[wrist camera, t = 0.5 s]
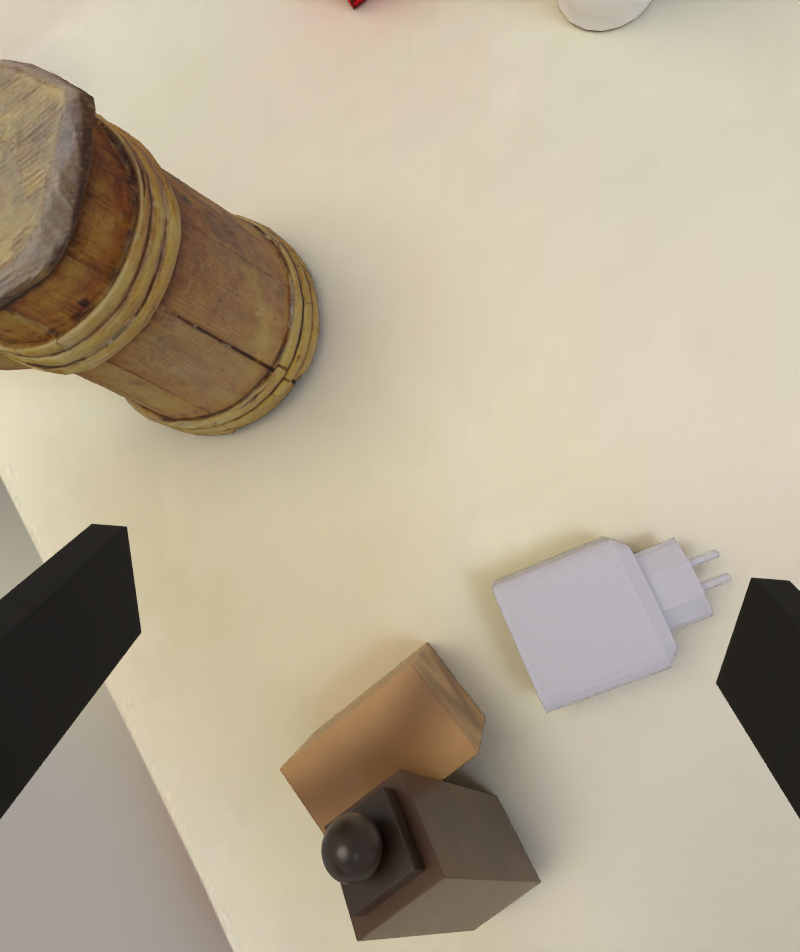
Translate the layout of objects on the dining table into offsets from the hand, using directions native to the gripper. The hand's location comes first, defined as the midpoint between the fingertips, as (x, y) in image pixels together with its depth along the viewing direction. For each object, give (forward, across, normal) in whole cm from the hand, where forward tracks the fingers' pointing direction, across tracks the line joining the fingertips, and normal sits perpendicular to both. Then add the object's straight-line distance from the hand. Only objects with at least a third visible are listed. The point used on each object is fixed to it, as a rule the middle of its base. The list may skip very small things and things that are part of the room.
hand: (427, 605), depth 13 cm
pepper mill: (+21, -4, +32) cm, 39 cm away
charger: (+27, -14, +17) cm, 35 cm away
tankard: (+40, +21, +3) cm, 46 cm away
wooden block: (+24, +1, +28) cm, 37 cm away
